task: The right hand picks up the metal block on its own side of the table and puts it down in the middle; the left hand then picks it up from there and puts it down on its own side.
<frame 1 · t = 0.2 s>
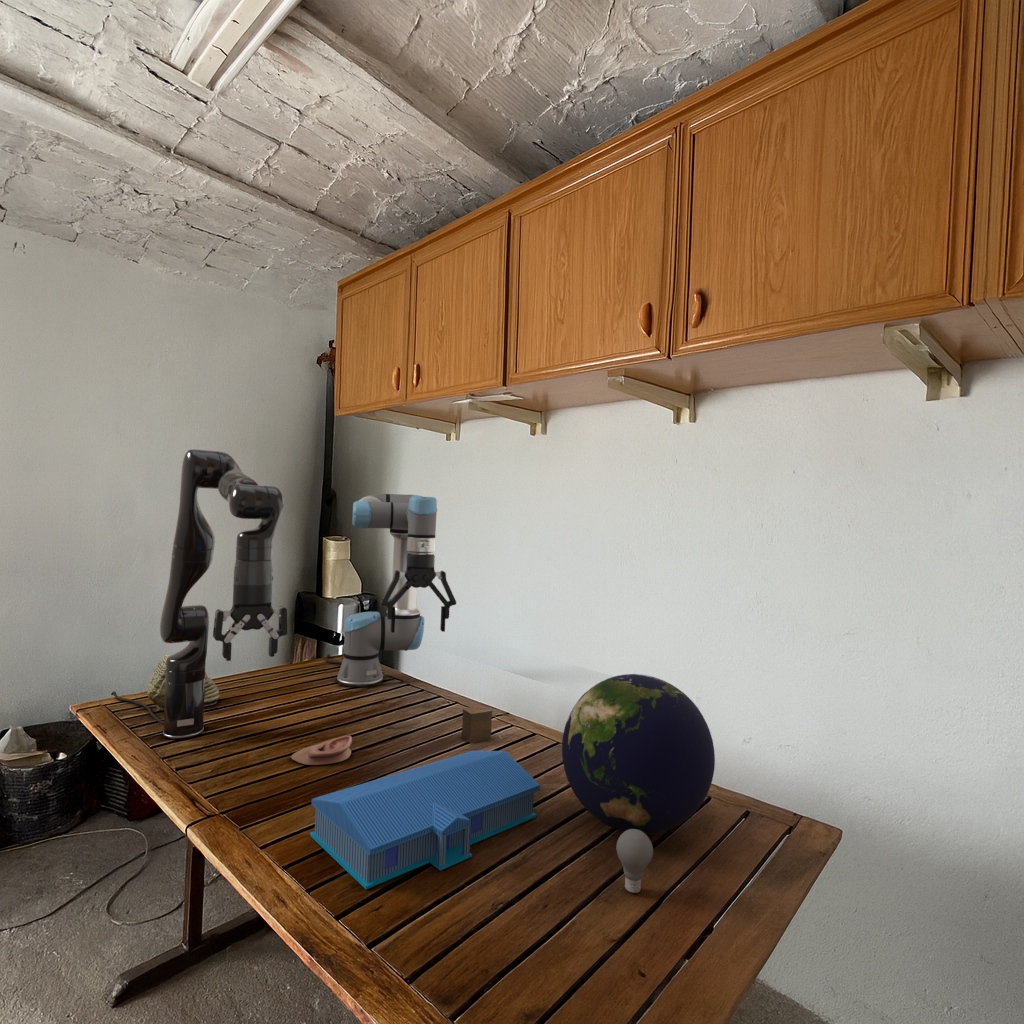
left hand: (249, 657, 132), 29 cm above the table, tool pointing down, fingers open, 8 cm apart
right hand: (417, 631, 172), 28 cm above the table, tool pointing down, fingers open, 13 cm apart
light bulb: (632, 891, 106), on the table
model building: (432, 829, 123), on the table
fossil: (183, 706, 185), on the table
block: (476, 738, 170), on the table
globe: (633, 826, 127), on the table
anatomical model: (321, 756, 154), on the table
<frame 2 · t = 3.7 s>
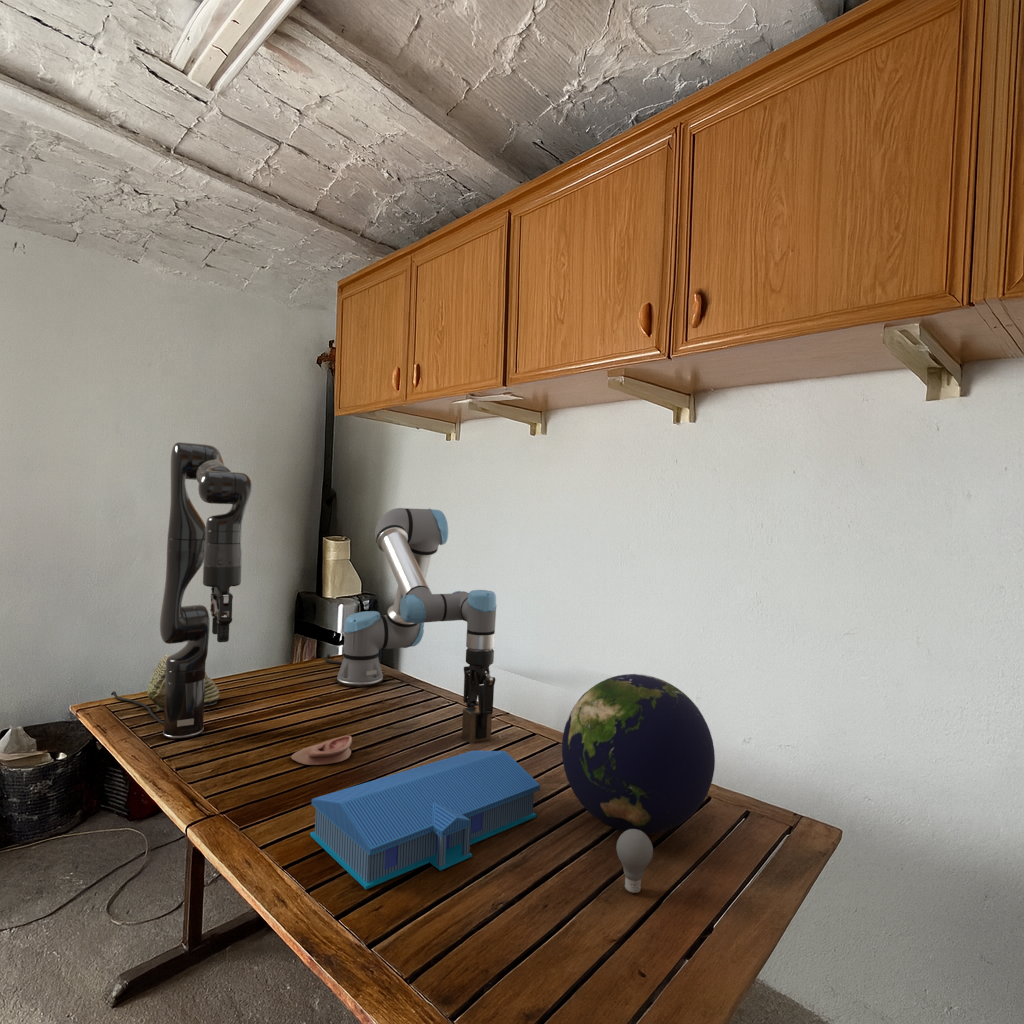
left hand: (220, 637, 138), 32 cm above the table, tool pointing down, fingers open, 8 cm apart
right hand: (476, 734, 170), 1 cm above the table, tool pointing down, fingers closed on block, 5 cm apart
block: (476, 738, 170), on the table, touching right hand
everything else where it was.
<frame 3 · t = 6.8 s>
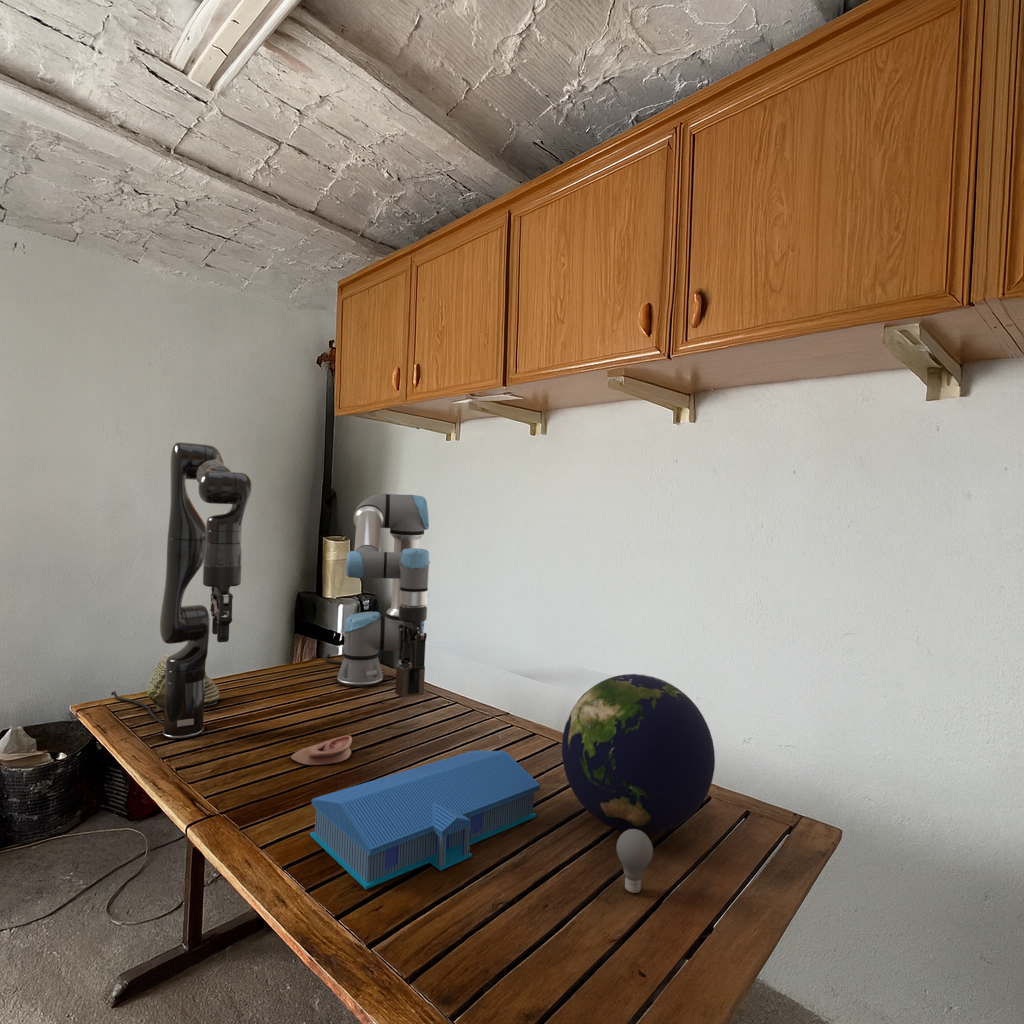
left hand: (220, 637, 138), 32 cm above the table, tool pointing down, fingers open, 8 cm apart
right hand: (409, 690, 173), 11 cm above the table, tool pointing down, fingers closed on block, 5 cm apart
block: (409, 693, 173), point 10 cm above the table, touching right hand
everything else where it was.
when the right hand's fingers open (3 cm above the table, at t = 9.8 s): block drops 2 cm, on the table.
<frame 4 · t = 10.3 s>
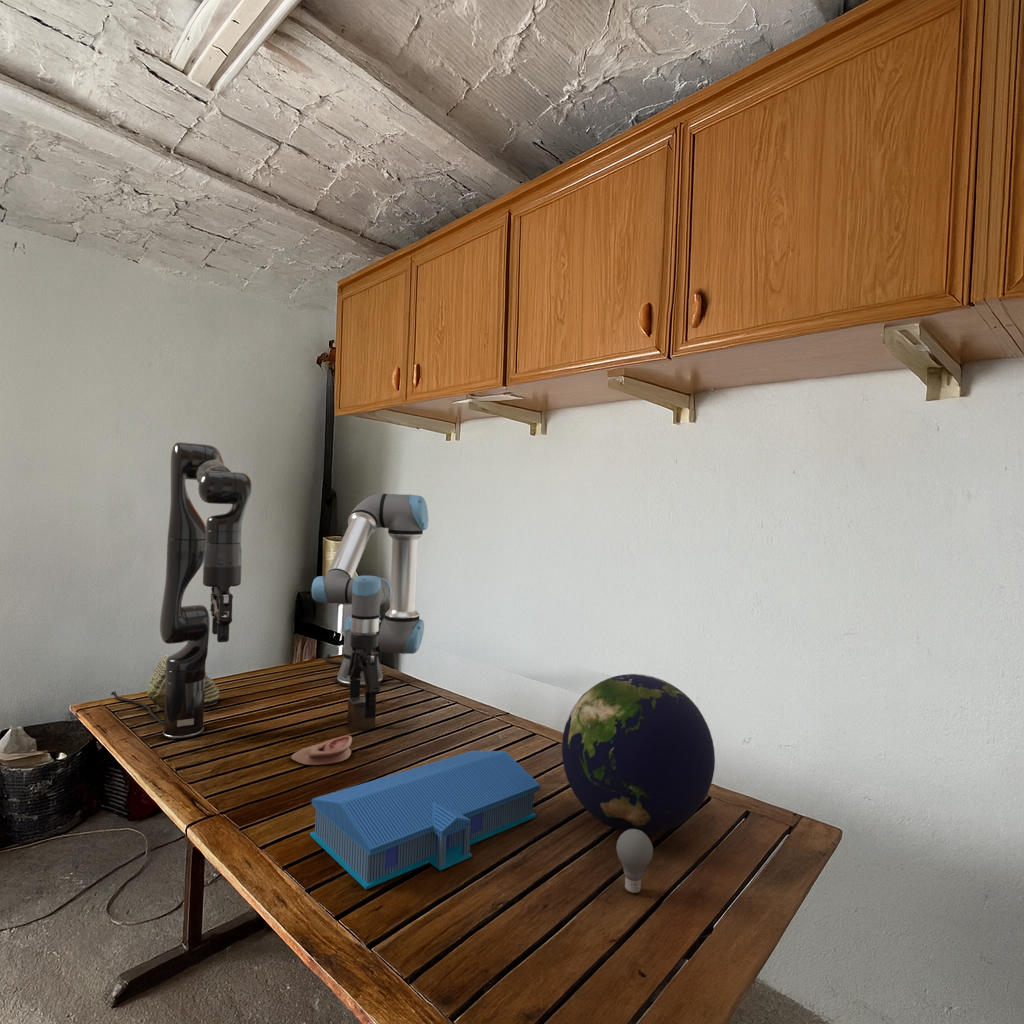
left hand: (220, 637, 138), 32 cm above the table, tool pointing down, fingers open, 8 cm apart
right hand: (361, 710, 174), 5 cm above the table, tool pointing down, fingers open, 12 cm apart
block: (361, 727, 174), on the table
everything else where it was.
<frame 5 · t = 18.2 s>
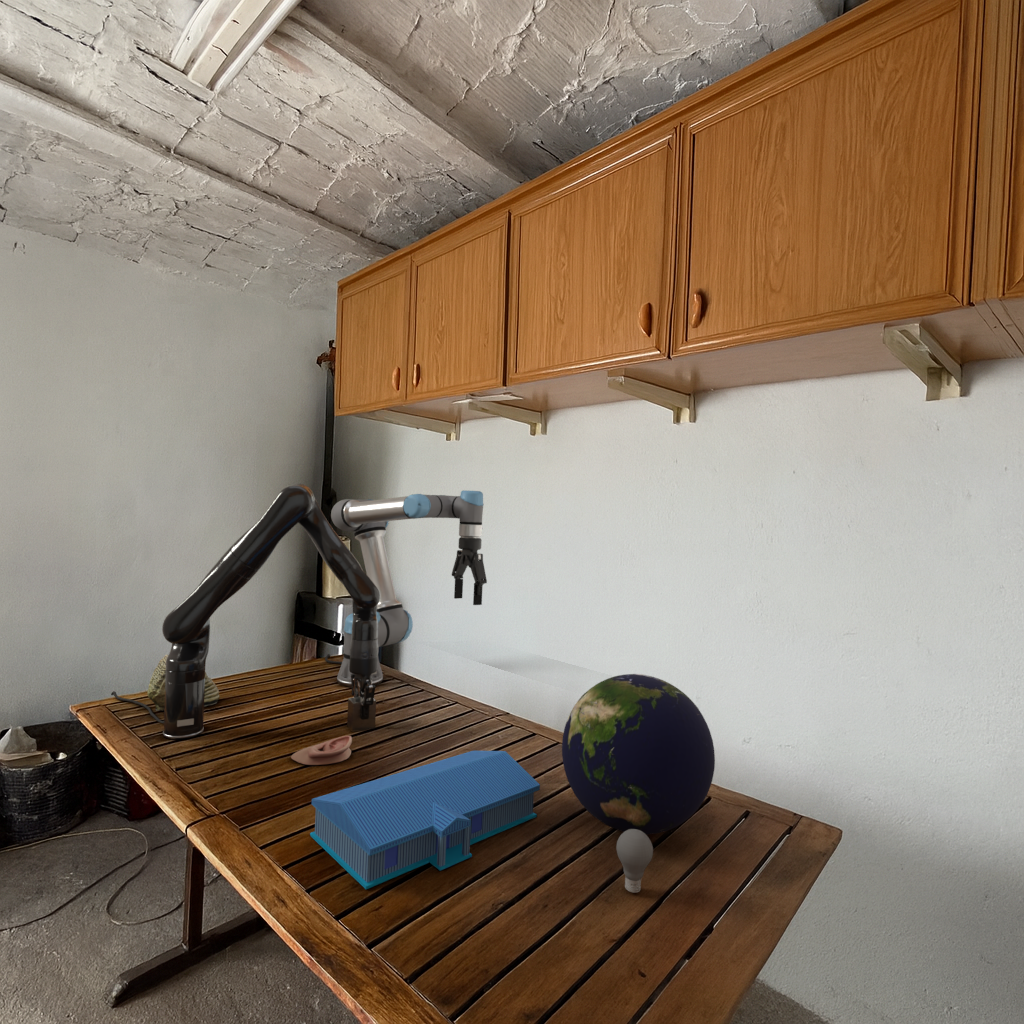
left hand: (361, 715, 174), 3 cm above the table, tool pointing down, fingers closed on block, 4 cm apart
right hand: (467, 601, 209), 30 cm above the table, tool pointing down, fingers open, 13 cm apart
block: (361, 727, 174), on the table, touching left hand
everything else where it was.
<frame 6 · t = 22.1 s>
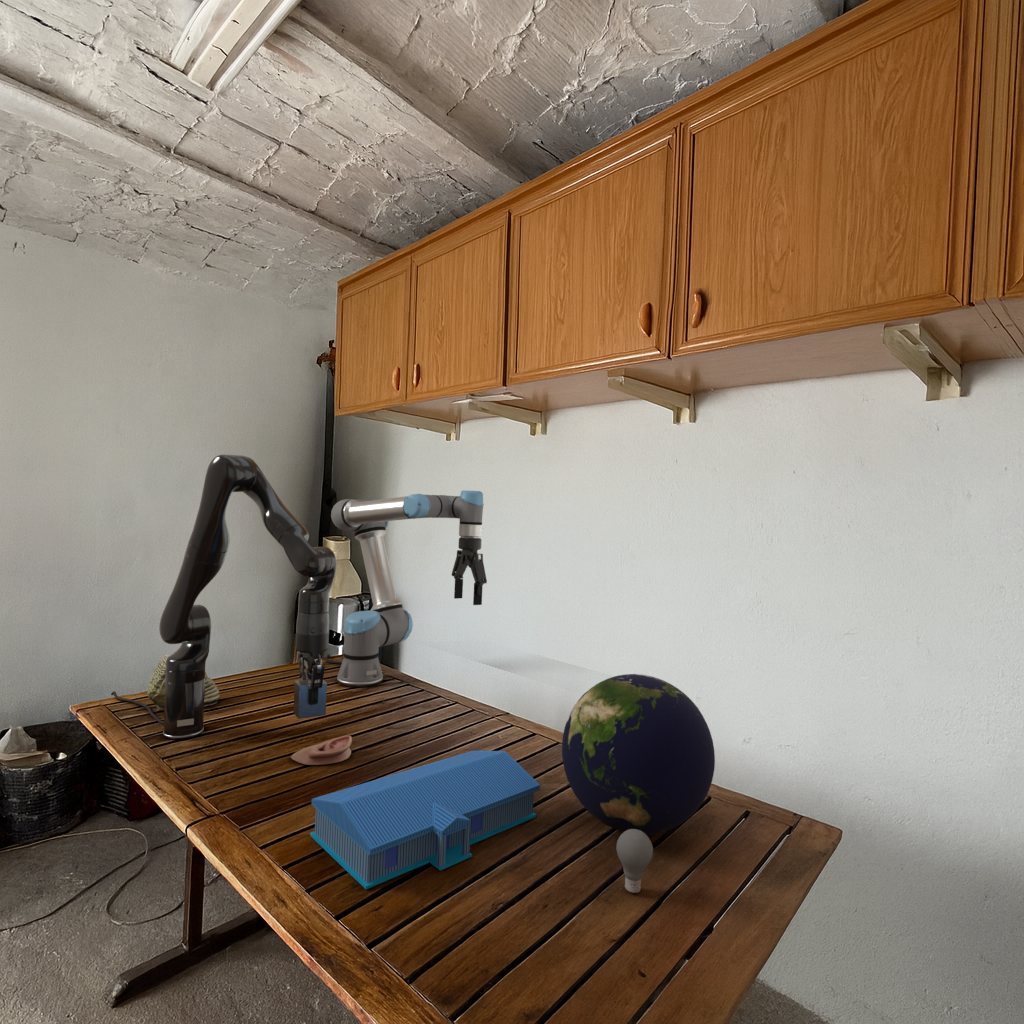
left hand: (309, 700, 152), 14 cm above the table, tool pointing down, fingers closed on block, 4 cm apart
right hand: (467, 601, 209), 30 cm above the table, tool pointing down, fingers open, 13 cm apart
block: (309, 714, 152), point 11 cm above the table, touching left hand
everything else where it was.
when the left hand's fingers open (5 cm above the table, at t = 26.1 s): block drops 2 cm, on the table.
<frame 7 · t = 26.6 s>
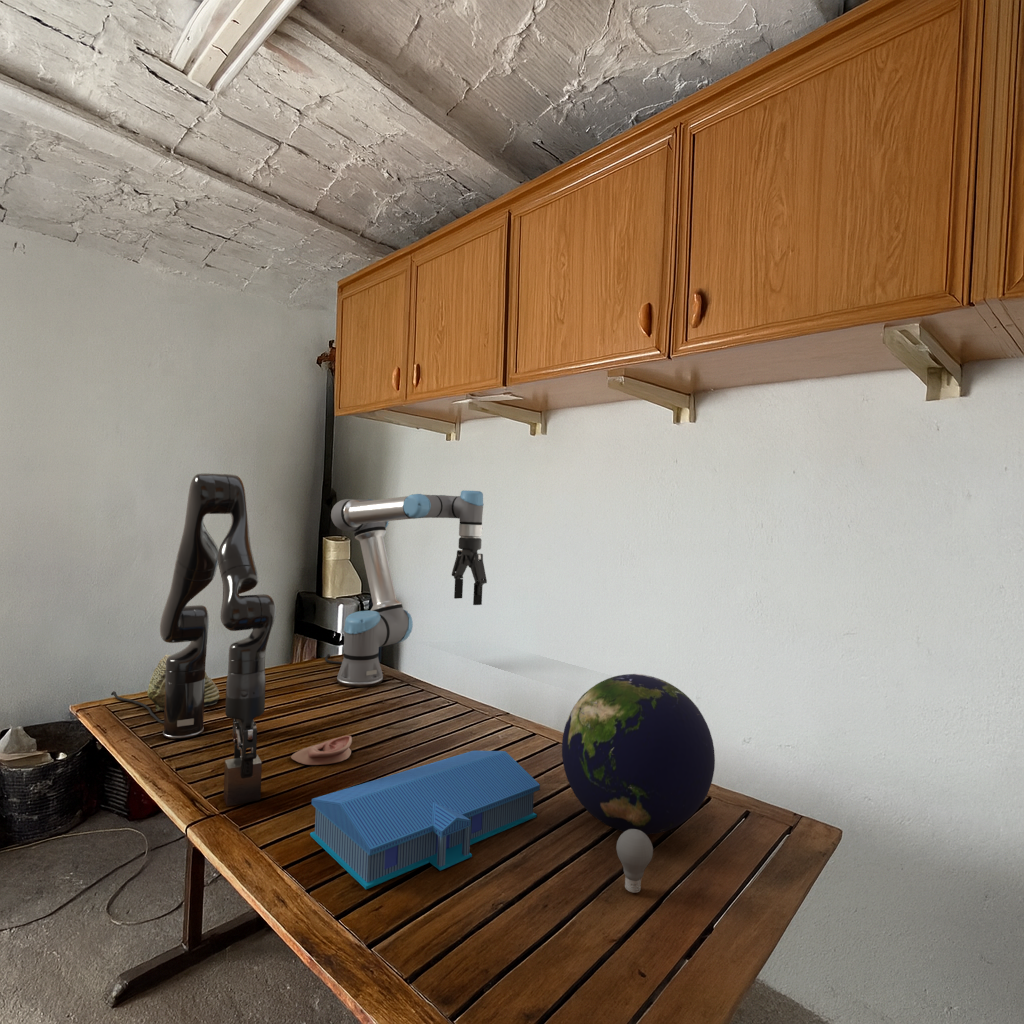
left hand: (242, 769, 131), 6 cm above the table, tool pointing down, fingers open, 8 cm apart
right hand: (467, 601, 209), 30 cm above the table, tool pointing down, fingers open, 13 cm apart
block: (241, 798, 131), on the table
everything else where it was.
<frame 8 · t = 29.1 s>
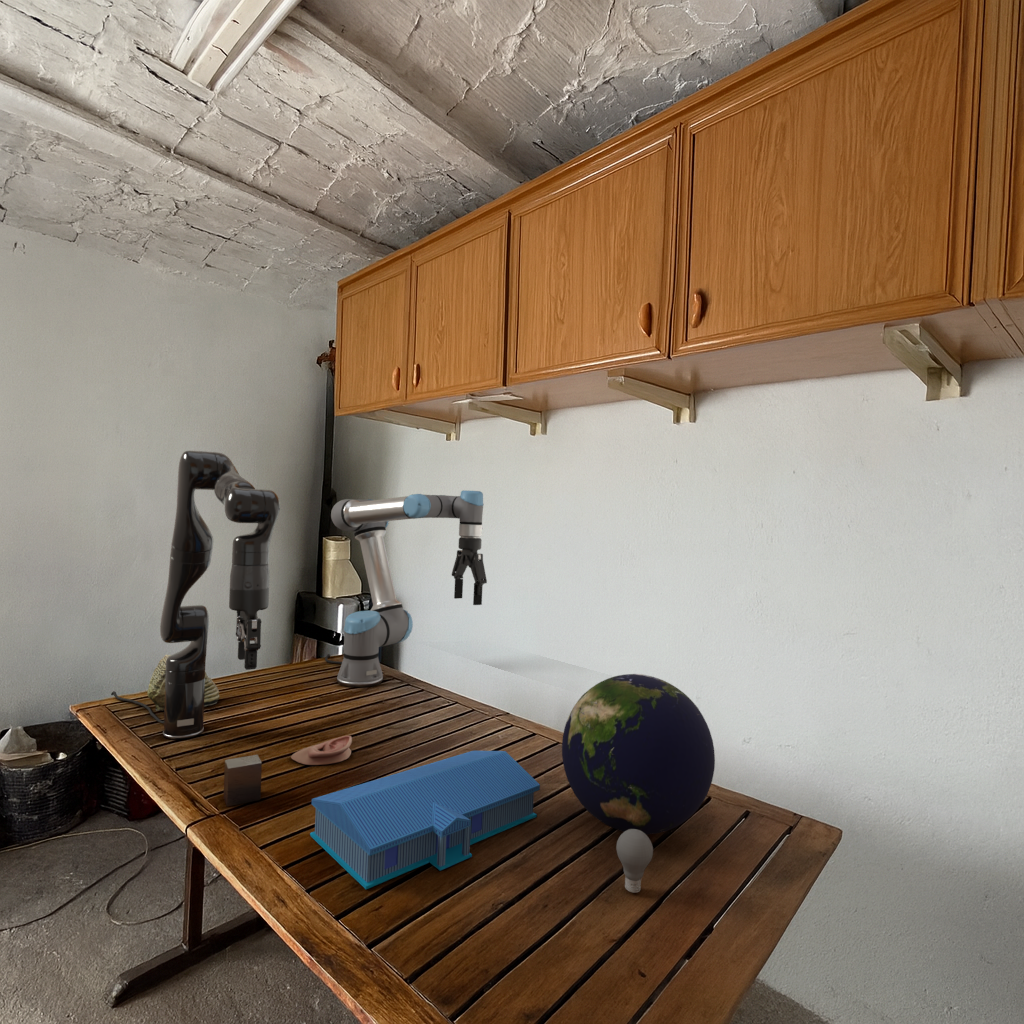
left hand: (246, 663, 131), 28 cm above the table, tool pointing down, fingers open, 8 cm apart
right hand: (467, 601, 209), 30 cm above the table, tool pointing down, fingers open, 13 cm apart
nothing on the table moved.
at the end: block inside the target area (0.2 cm from its centre), on the table; block tilted 0°; the two hands never held the block at the same time; the left hand is holding nothing; the right hand is holding nothing; block at rest at the end (0.0 cm/s) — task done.
